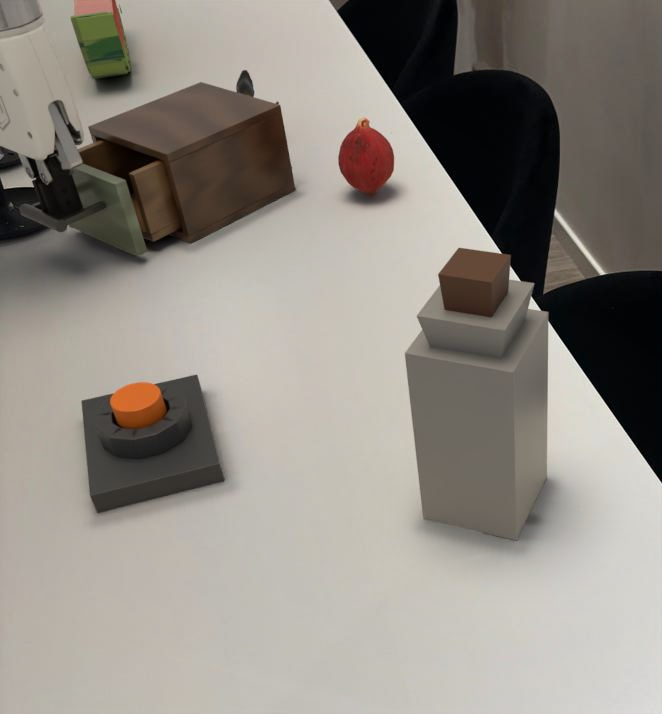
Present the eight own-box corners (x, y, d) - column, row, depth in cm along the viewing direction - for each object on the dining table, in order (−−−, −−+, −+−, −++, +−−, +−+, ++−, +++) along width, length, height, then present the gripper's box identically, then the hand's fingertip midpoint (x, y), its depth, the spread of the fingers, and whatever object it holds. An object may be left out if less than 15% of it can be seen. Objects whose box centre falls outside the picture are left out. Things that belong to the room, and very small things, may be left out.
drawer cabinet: (190, 243, 97) (166, 154, 91) (115, 212, 103) (87, 126, 97) (295, 189, 105) (280, 104, 99) (220, 163, 111) (201, 81, 105)
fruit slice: (88, 41, 146) (65, -32, 139) (130, 36, 147) (110, -38, 140) (92, 100, 128) (66, 19, 121) (140, 93, 129) (117, 12, 122)
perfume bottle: (516, 540, 64) (511, 303, 52) (423, 519, 66) (397, 285, 54) (546, 477, 69) (549, 244, 56) (458, 458, 71) (442, 230, 58)
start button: (115, 407, 72) (108, 388, 71) (164, 396, 73) (157, 377, 71) (118, 435, 69) (111, 416, 68) (169, 423, 70) (163, 404, 69)
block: (88, 417, 76) (73, 381, 74) (202, 391, 78) (191, 355, 76) (97, 513, 68) (81, 476, 66) (224, 481, 70) (213, 443, 68)
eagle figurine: (299, 125, 115) (266, 89, 120) (263, 84, 109) (230, 48, 114) (254, 170, 116) (223, 133, 121) (215, 132, 110) (184, 95, 115)
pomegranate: (384, 209, 101) (375, 132, 95) (334, 203, 102) (323, 127, 97) (405, 185, 105) (398, 110, 99) (357, 180, 106) (347, 106, 101)
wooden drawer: (89, 281, 90) (62, 207, 85) (21, 248, 96) (-8, 177, 91) (243, 204, 101) (227, 134, 96) (174, 179, 106) (155, 111, 101)
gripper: (-98, 6, 81) (-13, 212, 94) (1, 35, 74) (79, 254, 87) (-18, -17, 85) (54, 184, 98) (83, 9, 78) (146, 221, 91)
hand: (65, 216), depth 92 cm, fingers closed
